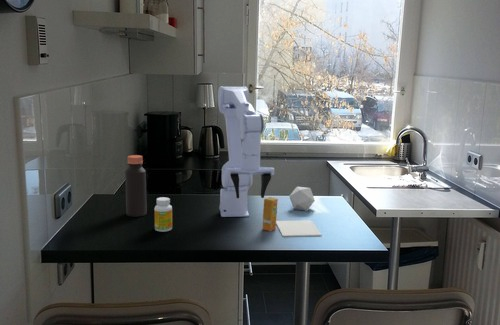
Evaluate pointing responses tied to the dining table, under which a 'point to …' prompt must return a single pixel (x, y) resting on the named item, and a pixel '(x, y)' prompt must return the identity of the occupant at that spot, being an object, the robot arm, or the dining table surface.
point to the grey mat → (298, 228)
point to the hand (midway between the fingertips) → (250, 197)
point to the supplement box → (269, 214)
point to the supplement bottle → (163, 215)
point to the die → (302, 198)
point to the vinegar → (135, 187)
